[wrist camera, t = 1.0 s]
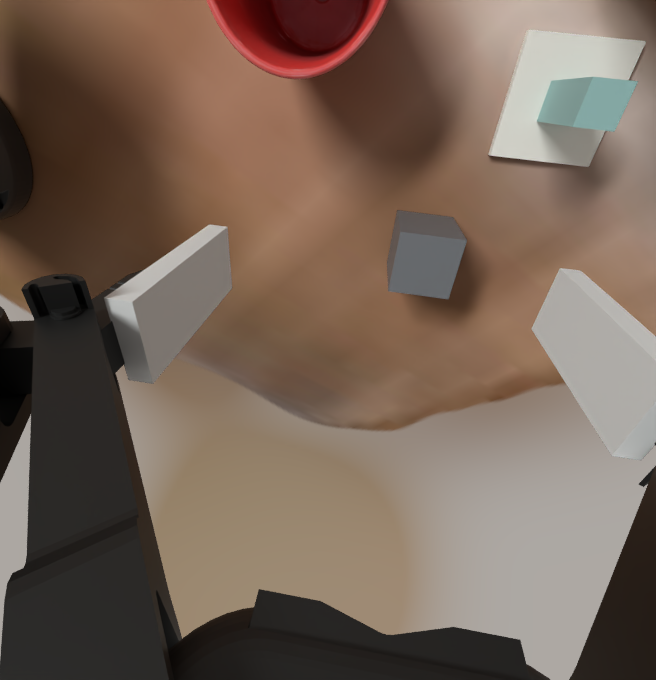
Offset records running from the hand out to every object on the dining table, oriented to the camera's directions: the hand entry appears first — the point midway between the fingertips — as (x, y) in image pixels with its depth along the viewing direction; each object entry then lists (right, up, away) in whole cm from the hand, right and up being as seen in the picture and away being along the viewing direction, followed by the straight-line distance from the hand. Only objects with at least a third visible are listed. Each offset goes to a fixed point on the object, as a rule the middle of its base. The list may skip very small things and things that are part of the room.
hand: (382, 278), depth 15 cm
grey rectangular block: (+7, +7, +20) cm, 23 cm away
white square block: (+16, +16, +13) cm, 26 cm away
